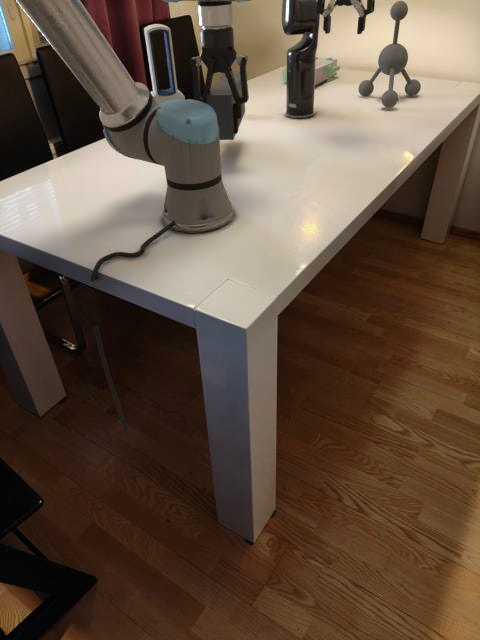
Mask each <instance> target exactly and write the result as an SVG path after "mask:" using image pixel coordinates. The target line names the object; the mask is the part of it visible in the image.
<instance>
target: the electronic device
mask: <svg viewBox="0 0 480 640" xmlns="http://www.w3.org/2000/svg"><path fill="white" fill-rule="evenodd" d="M143 32H144V39H145V45H146V52H147V59H148V66H149V73H150V79H151V80H150V81H151V86H152V90H151V91H150V93H151V94H152V96H153V97H154V99H155V100H156V102H157V103H158V104H159V105H160V104H161V103H162V102H165V101H168V100H173V99H184V100H186V97H185V95H184V94H183V93H182V91H180V90H179V89H178V82H177V81H178V80H177V72H176V65H175V64H176V63H175V56H174V48H173V39H172V30H171V28H170V27H169V26H167V25H165V24H161V23H152V24H149V25H147V26H145V27H144V28H143ZM157 32H158V33H159V32H161V33H162V32H163V38H164V46H165V54H166V62H167V71H168V79H169V86H170V87H169V88H166V89H160V88H159V79H158V74H157V72H158V71H157V66H156V65H157V64H156V58H155V51H154V44H153V37H152V34H154V33H157Z"/></svg>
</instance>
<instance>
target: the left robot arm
mask: <svg viewBox="0 0 480 640" xmlns="http://www.w3.org/2000/svg"><path fill="white" fill-rule="evenodd" d="M15 1H16V2H17V3H18V5H19V6H20V7H21V9H22V10H23V11H24V13H25V14H26V15H27V16H28V18H29V20H30V21H31V22H32V23H33V24H34V26H35V27H36V28H37V30H38V31H39V32H40V33H41V34H42V36H43V37H44V38H45V40H46V41H47V42H48V43H49V45H50V46H51V47H52V49H53V50H54V52H56V54H57V55H58V56H59V58H60V59H61V60H62V61H63V62H64V64H65V66H66V67H67V68H68V69H69V70H70V71H71V73H72V74H73V76H74V77H75V78H76V80H77V81H78V82H79V83H80V84H81V86H82V87H83V88H84V90H85V91H86V92H87V94H88V95H89V96H90V97H91V99H92V100H93V101H94V103H95V104H96V105H97V106H98V107H99V114H98V117H99V120H100V121H101V125H102V127H103V130H102V133H103V135H104V138H105V140H106V142H107V144H108V145H109V147H110V148H112V149H113V151H115V152H116V153H118V154H121V155H122V156H124V157H127V158H129V159H134V160H138V161H142V162H146V163H151V164H155V165H158V166H162V167H163V168H164V174H165V180H166V190H165V191H166V192H165V196H164V203H163V207H162V218H163V222H164V224H165V226H164V227H162V229H159V231H157V232H156V233H155V234H153V235H152V236H151V237H149V238H148V239H147V240H146V241H144V242H143V243H142V244H141V245H140V248H139V250H138V251H135V252H127V251H115V252H111V253H109V254H106V255H104V256H102V257H101V258H99V259H98V260H97V261H96V263H95V265H94V267H93V269H92V272H91V275H90V278H89V281H90V282H94V281H95V280H96V278H97V276H98V274H99V271H100V269H101V266H102V265H103V264H104V263H105V262H107V261H109V260H112V259H115V258H117V257H118V258H138V257H140V256H143V254H144V253H145V250H146V248H147V247H148V246H150V245H151V244H152V243H153V242H154V241H156V240H157V239H158V238H160V237H161V236H162V235H164V234H165V233H167V232H168V231H169V230H173V231H177V232H180V233H190V234H191V233H192V234H193V233H194V234H195V233H196V234H197V233H205V232H206V233H207V232H210V231H215V230H216V229H220V228H222V227H224V226H226V225H227V224H228V223H230V221H231V220H232V218H233V216H234V212H233V211H234V210H233V204H232V201H231V200H230V197H229V195H228V192H227V190H226V187H225V184H224V182H223V175H222V174H223V173H222V158H221V140H220V139H219V127H218V122H217V116H216V113H215V111H214V109H213V108H212V107H211V106H209V105H208V102H207V95H208V93H209V92H210V91H211V89H212V84H213V79H214V74H218V73H221V74H222V73H225V75H226V77H227V80H228V83H229V86H230V89H231V92H232V95H233V98H234V101H235V103H234V105H233V118H234V134H236V135H237V134H238V132H239V128H238V119H241V117H242V104H243V103H245V104H247V103H248V101H249V99H250V97H249V95H250V94H249V85H248V75H247V74H248V72H247V64H248V59H249V58H248V55H247V54H246V55H245V54H244V55H241V54H238V53H237V50H236V49H235V36H234V28H233V27H232V25H233V24H234V14H233V13H234V12H233V3H232V2H235V3H241V2H250V1H252V0H161V1H162V2H164V3H176V4H177V3H179V2H185V1H190V2H191V1H192V2H197V8H198V10H197V11H198V21H199V26H200V27H201V29H200V31H199V32H200V45H201V52H200V55H198V56H193V57H191V58H190V59H189V64H190V66H191V69H192V87H193V89H192V90H193V99H191V98H188V99H185V100H184V99H173V100H168V101H165V102H162V103H161V104H160V105H159V104H158V103H157V102H156V100H155V99H154V97H153V96H152V94H151V93H150V92H151V91H150V90H149V88H148V87H147V86H146V84H145V83H142V82H136V81H134V79H133V78H132V76H131V75H130V73H129V71H128V70H127V68H126V67H125V65H124V64H123V63H122V61H121V60H120V57H118V55H117V53H116V52H115V51H114V49H113V48H112V46H111V44H110V43H109V41H108V40H107V39H106V37H105V35H104V34H103V33H102V31H101V30H100V28H99V26H98V24H96V22H95V21H94V19H93V18H92V16H91V14H90V13H89V12H88V10H87V8H86V7H85V5H84V4H83V3H82V1H81V0H15ZM235 62H237V65H238V66H239V72H240V78H241V88H242V97H240V94H239V91H238V88H237V85H236V82H235V79H234V76H233V72H234V71H233V69H232V66H233V65H234V63H235ZM201 63H203V64H204V66H205V67H206V68H207V71H206V77H205V84H204V88H203V93H202V95H201V70H200V67H201V65H202V64H201ZM99 327H100V326H99V325H93V332H94V337H95V341H96V345H97V349H98V353H99V356H100V360H101V363H102V367H103V370H104V373H105V377H106V380H107V383H108V385H109V388H110V392H111V395H112V397H113V401H114V403H115V406H116V410H117V413H118V417H119V420H120V423H121V427H122V430H123V431H122V432H123V433H124V434H126V435H127V434H128V433H129V430H128V427H127V423H126V422H127V421H126V419H125V416H124V412H123V408H122V405H121V402H120V400H119V397H118V393H117V391H116V390H117V389H116V387H115V384H114V381H113V377H112V374H111V370H110V368H109V363H108V361H107V357H106V354H105V350H104V345H103V341H102V337H101V332H100V328H99Z"/></svg>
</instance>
